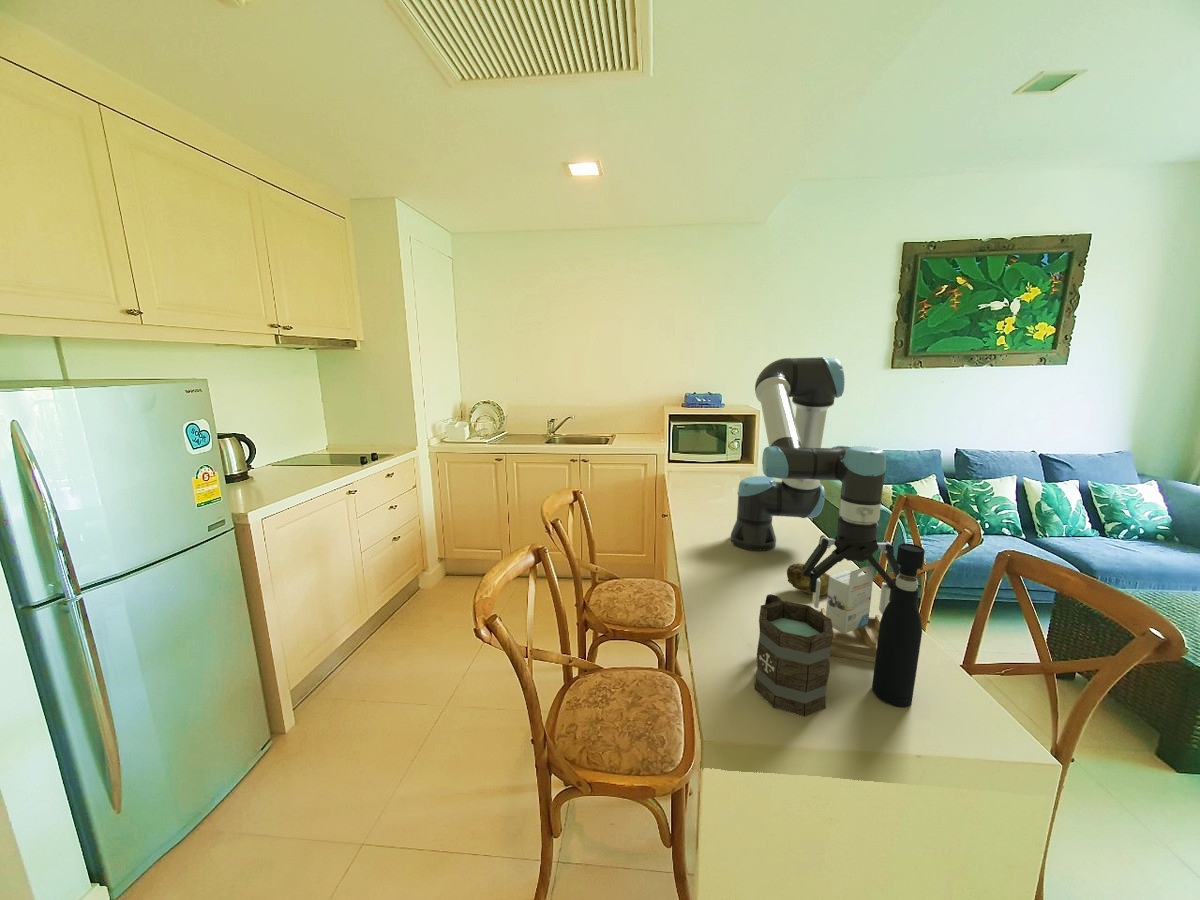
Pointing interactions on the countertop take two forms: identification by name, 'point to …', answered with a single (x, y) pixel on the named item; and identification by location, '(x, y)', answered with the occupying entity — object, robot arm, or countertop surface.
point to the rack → (856, 641)
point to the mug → (793, 656)
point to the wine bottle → (900, 633)
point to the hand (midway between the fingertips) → (848, 608)
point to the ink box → (850, 598)
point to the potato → (805, 579)
